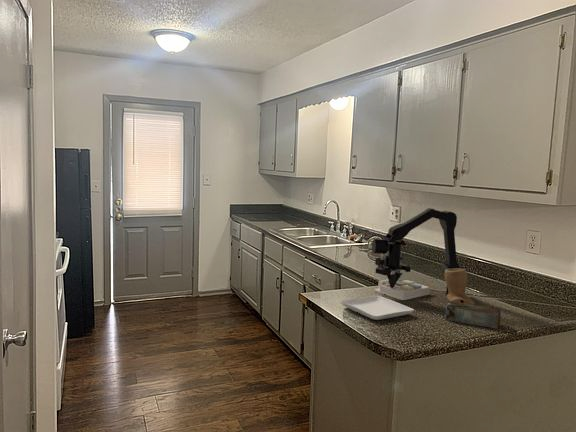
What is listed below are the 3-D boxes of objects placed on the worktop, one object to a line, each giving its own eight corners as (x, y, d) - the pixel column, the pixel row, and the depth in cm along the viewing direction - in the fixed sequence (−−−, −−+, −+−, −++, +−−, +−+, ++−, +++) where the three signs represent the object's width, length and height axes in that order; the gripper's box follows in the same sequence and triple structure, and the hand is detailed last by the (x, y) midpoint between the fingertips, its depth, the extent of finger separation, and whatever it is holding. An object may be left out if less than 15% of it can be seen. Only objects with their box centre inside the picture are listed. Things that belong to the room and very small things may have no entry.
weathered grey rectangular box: (447, 315, 184) (448, 299, 183) (499, 324, 176) (501, 307, 175) (444, 320, 177) (446, 303, 176) (499, 330, 169) (501, 313, 168)
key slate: (421, 289, 212) (421, 285, 211) (415, 290, 209) (415, 286, 209) (413, 287, 215) (413, 283, 215) (407, 288, 212) (407, 284, 212)
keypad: (429, 294, 214) (430, 285, 213) (402, 300, 201) (403, 290, 201) (400, 286, 227) (401, 277, 226) (373, 291, 214) (374, 281, 213)
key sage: (414, 285, 218) (414, 281, 218) (408, 286, 215) (408, 283, 215) (406, 283, 221) (406, 279, 221) (400, 284, 219) (401, 280, 218)
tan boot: (440, 296, 212) (443, 264, 210) (467, 299, 209) (470, 267, 208) (445, 305, 197) (448, 271, 195) (474, 308, 195) (477, 274, 193)
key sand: (413, 291, 208) (413, 287, 208) (407, 292, 205) (407, 288, 205) (405, 288, 211) (405, 284, 211) (399, 289, 208) (399, 286, 208)
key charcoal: (406, 287, 214) (406, 283, 214) (400, 288, 211) (401, 284, 211) (398, 285, 218) (399, 281, 217) (393, 286, 215) (393, 282, 215)
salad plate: (374, 324, 168) (375, 315, 167) (338, 308, 185) (339, 299, 185) (415, 317, 179) (415, 308, 179) (377, 302, 197) (378, 294, 196)
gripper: (393, 249, 221) (390, 281, 223) (367, 252, 209) (365, 286, 211) (412, 254, 213) (409, 286, 214) (386, 257, 201) (384, 291, 202)
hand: (391, 287), depth 211 cm, fingers closed, pressing on key terracotta
